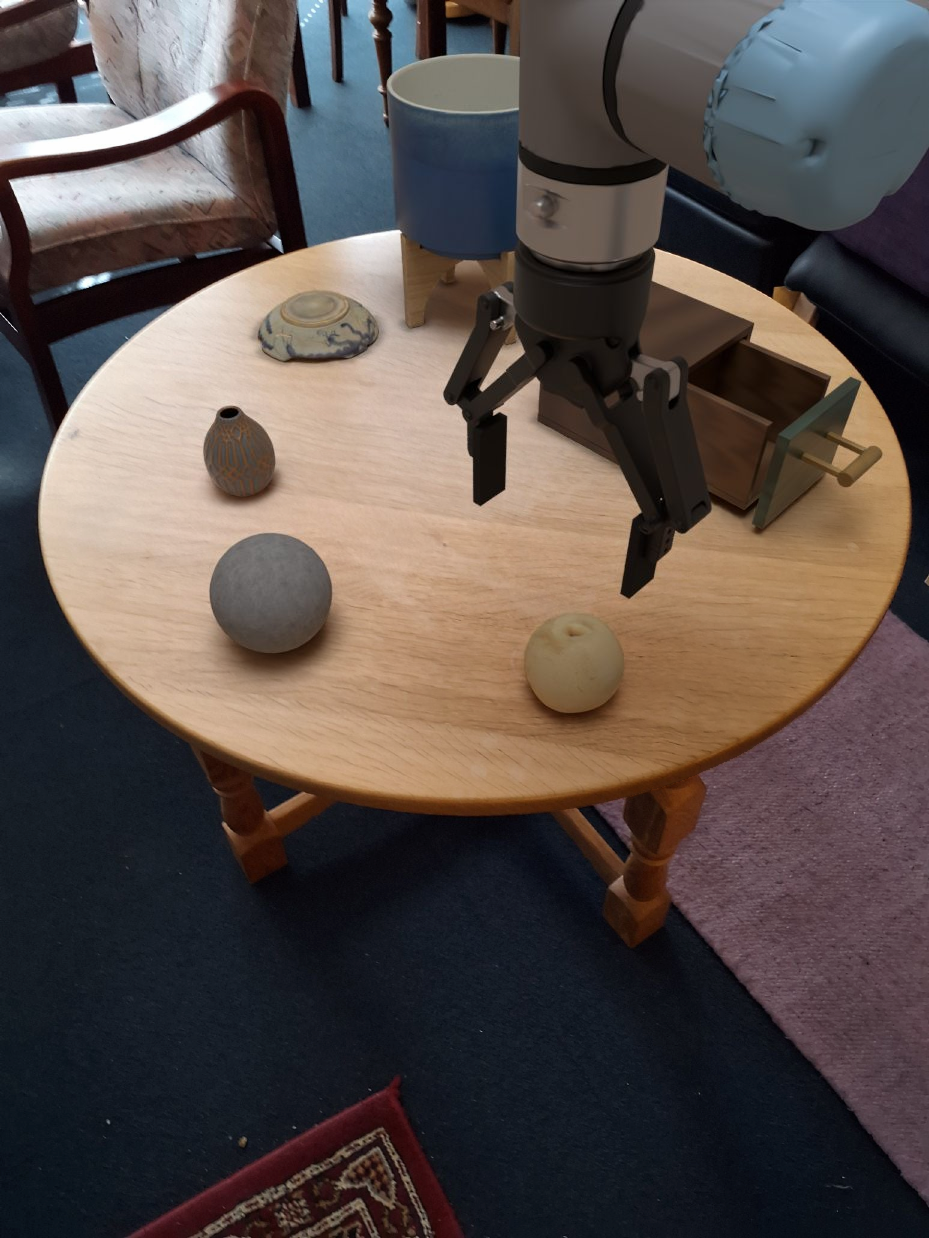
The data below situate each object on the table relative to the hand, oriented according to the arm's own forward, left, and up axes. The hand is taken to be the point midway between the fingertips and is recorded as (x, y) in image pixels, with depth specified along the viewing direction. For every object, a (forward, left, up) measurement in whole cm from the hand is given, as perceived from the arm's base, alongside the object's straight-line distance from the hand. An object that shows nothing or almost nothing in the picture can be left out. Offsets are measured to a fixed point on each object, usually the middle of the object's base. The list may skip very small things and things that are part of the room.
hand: (559, 539), depth 63 cm
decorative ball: (+20, +12, -16) cm, 28 cm away
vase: (+39, +2, -16) cm, 42 cm away
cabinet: (+17, -34, -16) cm, 41 cm away
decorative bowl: (+57, -22, -16) cm, 63 cm away
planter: (+47, -40, -16) cm, 63 cm away
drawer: (+1, -34, -15) cm, 36 cm away
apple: (-2, -1, -16) cm, 16 cm away
